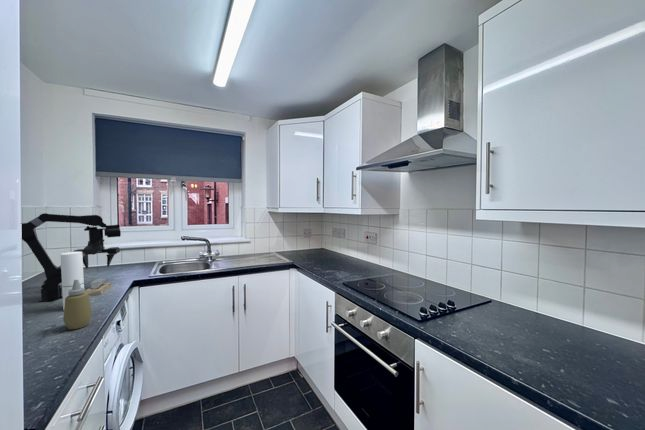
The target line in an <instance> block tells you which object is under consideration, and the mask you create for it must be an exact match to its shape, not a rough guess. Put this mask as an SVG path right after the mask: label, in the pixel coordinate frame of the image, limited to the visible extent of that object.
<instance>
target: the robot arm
mask: <svg viewBox="0 0 645 430" xmlns="http://www.w3.org/2000/svg"><path fill="white" fill-rule="evenodd" d="M46 222H48V223H49V222H52V223H70V224H71V223H73V224H81V225H87V226H86V227H85V228H84V229H83V230H84V232H86V231H88V240H89V241H88V242H87V245H86V246H85V247H84V248H78V249H75V250H73V251H72V252H82V255H83V266H84V267H85V269H88V268H89V255H96V254H103V253H104V254H105V253H106V258H107V259H106V266H107V268H109V267H110V265H111V262H112V260H113V258H114V256H115V255H117V254H118V253H120V252H121V248H120V247H118V246H115V247H114V246H112V247H109V248H105V246H104V245H105V244H104V242H105V239H104V237H107V238H120V237H121V236H122V235H121V234H122V233H121V228H120V224H111V225H110V224H109V225H107V223H105V222H104V221H103V218H102V216H101V215H99V214H98V215H97V214H85V215H74V214H73V215H72V214H71V215H69V214H67V215H66V214H55V213H46V212H45V213H41V214H39V216H37V217H35V218H33V219H31V220H29V221H28V222H22V223H21V224H22V239H21V240H22V241H24V243H26V244H27V246H28V248H29V249H30V250H31V252H32V253H33V255H34V257H36V260H37V261H38V263H39V265H41V267H42V269H43V271H44V275H45V277H46V279H45V280H44V281H42V284H41V288H40V294H41V295H40V296H41V299H40V300H38V303H41V302H42V303H43V302H45V303H49V302H55V301H57V300H59V299H63V295H62V287H61V285H60V284H62V275H61V265H58V266H57V265H55V263H54V262H53V260H52V259H51V257H50V256H49V254H48V252H47V251H46V250H45V248H44V246H43V245H42V243H41V242H40V240H39V238H38V234H37V231H36V228H38V227H40V226H41V225H43V224H45V223H46ZM98 227H100V228H98Z"/></svg>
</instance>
